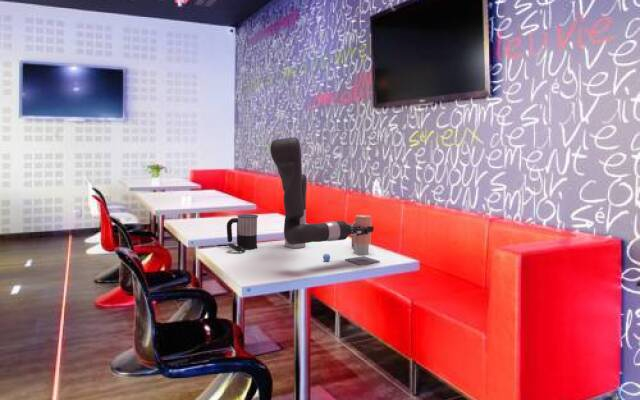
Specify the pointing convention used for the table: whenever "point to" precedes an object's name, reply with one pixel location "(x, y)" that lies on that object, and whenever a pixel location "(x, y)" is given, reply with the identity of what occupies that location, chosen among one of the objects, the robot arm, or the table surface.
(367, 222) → the cup terracotta
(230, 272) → the table surface
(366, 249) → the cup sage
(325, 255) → the marble
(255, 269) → the table surface
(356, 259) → the mat
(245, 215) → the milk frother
